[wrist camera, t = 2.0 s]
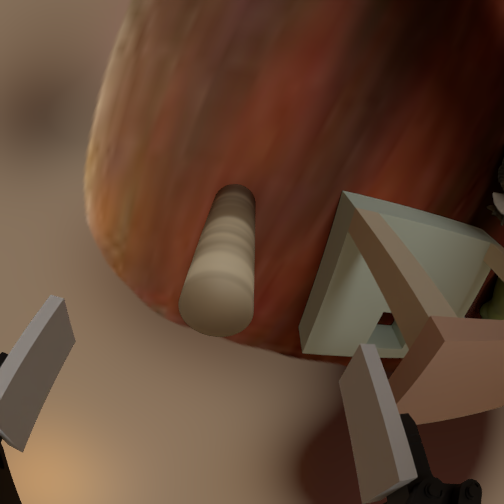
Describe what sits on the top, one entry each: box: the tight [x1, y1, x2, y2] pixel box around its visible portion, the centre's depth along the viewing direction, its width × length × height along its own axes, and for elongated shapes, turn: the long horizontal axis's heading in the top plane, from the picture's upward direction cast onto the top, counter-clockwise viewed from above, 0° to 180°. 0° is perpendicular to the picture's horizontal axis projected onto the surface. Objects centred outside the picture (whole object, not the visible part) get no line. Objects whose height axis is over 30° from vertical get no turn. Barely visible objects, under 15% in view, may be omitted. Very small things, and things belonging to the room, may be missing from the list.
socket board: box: [299, 191, 501, 358], centre depth 29 cm, size 16×18×4 cm
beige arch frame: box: [348, 207, 504, 425], centre depth 18 cm, size 6×19×14 cm, turn 80°
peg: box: [179, 184, 255, 337], centre depth 21 cm, size 4×4×14 cm
